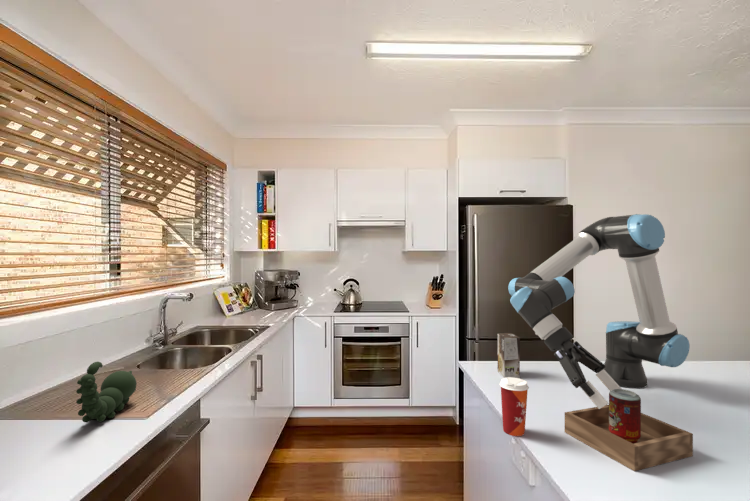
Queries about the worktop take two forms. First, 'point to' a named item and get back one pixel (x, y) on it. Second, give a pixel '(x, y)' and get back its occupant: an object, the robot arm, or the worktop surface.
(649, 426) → the walnut box
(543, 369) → the worktop surface
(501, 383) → the paper cup
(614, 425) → the soda can
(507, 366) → the coffee box
